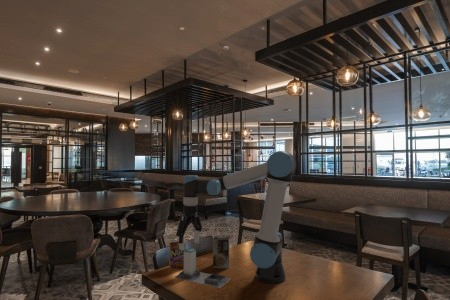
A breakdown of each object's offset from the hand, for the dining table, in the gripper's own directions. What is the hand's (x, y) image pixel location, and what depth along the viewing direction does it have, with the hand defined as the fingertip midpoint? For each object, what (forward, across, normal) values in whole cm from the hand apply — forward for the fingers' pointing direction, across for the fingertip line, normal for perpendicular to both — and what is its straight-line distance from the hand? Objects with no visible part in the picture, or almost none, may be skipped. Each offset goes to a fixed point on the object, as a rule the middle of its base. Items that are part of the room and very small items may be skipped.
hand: (189, 246), depth 146 cm
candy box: (+16, -5, -11) cm, 20 cm away
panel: (+15, 0, +8) cm, 17 cm away
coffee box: (+15, -19, +9) cm, 26 cm away
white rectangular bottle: (+15, 0, 0) cm, 15 cm away
